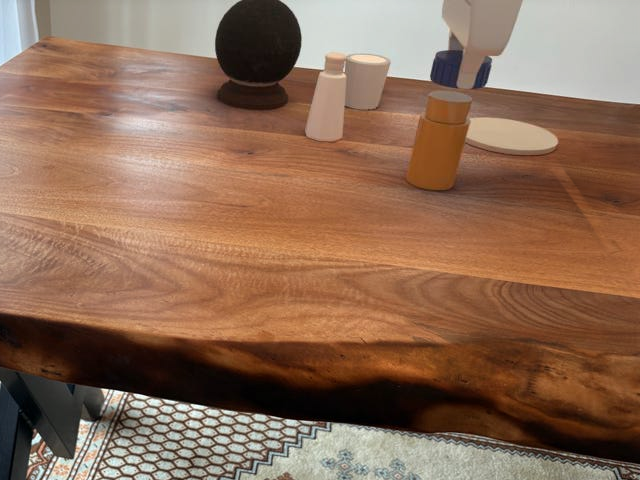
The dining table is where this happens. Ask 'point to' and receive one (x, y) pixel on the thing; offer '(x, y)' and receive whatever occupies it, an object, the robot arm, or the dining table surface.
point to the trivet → (510, 137)
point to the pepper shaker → (328, 101)
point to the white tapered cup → (365, 80)
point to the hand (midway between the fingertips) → (458, 78)
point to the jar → (439, 141)
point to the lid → (456, 69)
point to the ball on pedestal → (257, 53)
